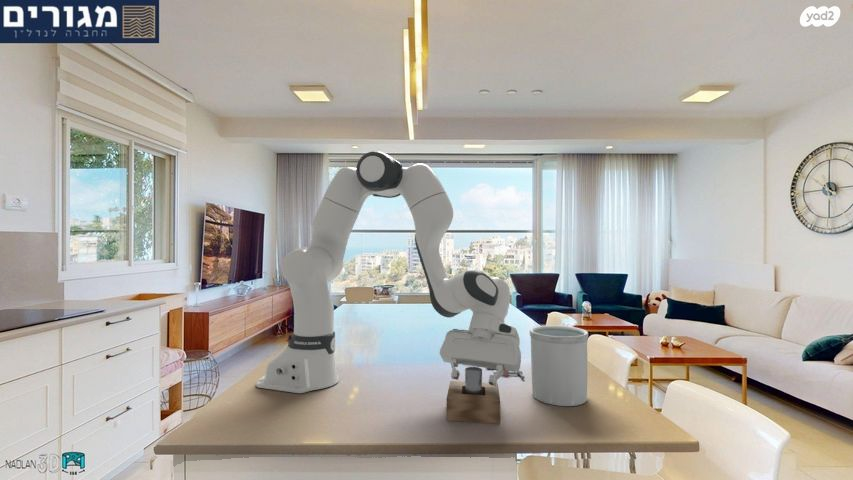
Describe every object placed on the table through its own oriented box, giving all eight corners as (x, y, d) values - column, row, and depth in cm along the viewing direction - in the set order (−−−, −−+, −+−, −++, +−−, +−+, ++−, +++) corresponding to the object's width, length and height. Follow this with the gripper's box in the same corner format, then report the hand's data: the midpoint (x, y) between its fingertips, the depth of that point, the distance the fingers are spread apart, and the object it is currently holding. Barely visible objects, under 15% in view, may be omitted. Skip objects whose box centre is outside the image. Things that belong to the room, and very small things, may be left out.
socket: (446, 420, 93) (446, 398, 93) (450, 400, 104) (450, 380, 104) (500, 423, 91) (500, 401, 91) (497, 403, 103) (497, 383, 103)
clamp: (484, 359, 136) (514, 359, 136) (484, 366, 136) (514, 366, 136) (491, 373, 121) (525, 374, 121) (491, 381, 121) (525, 381, 121)
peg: (464, 414, 96) (465, 371, 96) (465, 407, 100) (465, 366, 100) (481, 415, 95) (482, 372, 96) (481, 408, 99) (482, 367, 100)
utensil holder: (526, 402, 103) (526, 333, 104) (532, 384, 117) (532, 323, 117) (589, 411, 98) (589, 338, 98) (587, 391, 112) (587, 327, 112)
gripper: (445, 321, 109) (429, 368, 100) (522, 328, 100) (512, 380, 91) (451, 335, 113) (436, 381, 104) (526, 343, 104) (517, 394, 95)
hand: (472, 381), depth 97 cm, fingers open, 8 cm apart
